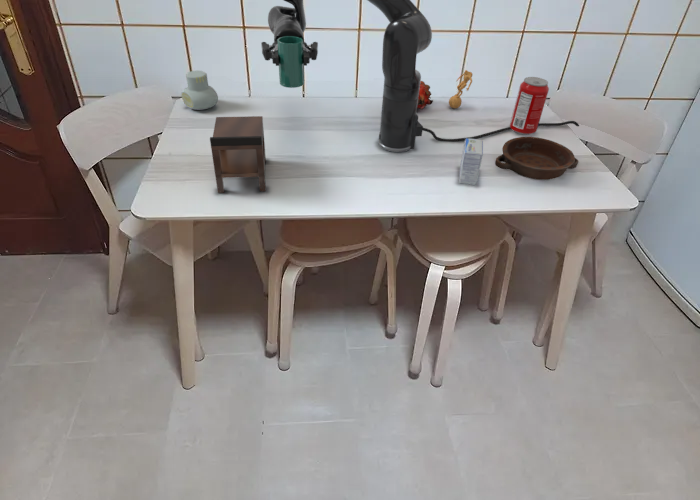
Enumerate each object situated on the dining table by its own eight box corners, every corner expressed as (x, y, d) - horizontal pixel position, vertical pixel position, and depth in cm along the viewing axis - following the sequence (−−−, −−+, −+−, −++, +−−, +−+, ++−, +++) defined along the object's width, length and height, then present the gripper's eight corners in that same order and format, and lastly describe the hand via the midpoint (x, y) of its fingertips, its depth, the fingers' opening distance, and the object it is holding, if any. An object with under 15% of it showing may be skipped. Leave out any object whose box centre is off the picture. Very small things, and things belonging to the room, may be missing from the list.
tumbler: (303, 78, 123) (302, 36, 116) (304, 87, 118) (303, 43, 112) (279, 78, 122) (277, 36, 116) (279, 88, 118) (277, 44, 111)
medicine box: (476, 185, 123) (483, 154, 118) (458, 183, 124) (464, 151, 118) (476, 170, 129) (483, 139, 124) (459, 167, 130) (465, 137, 125)
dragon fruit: (415, 103, 166) (419, 123, 157) (396, 88, 161) (400, 109, 153) (433, 84, 161) (439, 104, 153) (414, 69, 157) (419, 89, 149)
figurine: (443, 103, 163) (449, 65, 155) (460, 102, 164) (467, 65, 156) (453, 113, 156) (460, 75, 149) (471, 112, 158) (478, 74, 150)
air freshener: (180, 103, 154) (174, 71, 148) (204, 97, 158) (199, 65, 152) (197, 115, 148) (192, 82, 142) (222, 108, 152) (218, 76, 146)
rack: (265, 160, 129) (261, 109, 120) (265, 191, 118) (261, 137, 109) (222, 161, 128) (215, 109, 119) (217, 193, 116) (209, 138, 108)
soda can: (508, 134, 147) (522, 83, 137) (508, 123, 153) (521, 74, 143) (536, 138, 145) (551, 87, 136) (535, 126, 151) (549, 77, 142)
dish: (482, 153, 137) (486, 136, 134) (558, 151, 139) (564, 135, 136) (505, 187, 123) (510, 169, 120) (589, 184, 126) (596, 167, 123)
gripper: (259, 23, 124) (258, 44, 111) (317, 23, 126) (322, 44, 113) (261, 54, 129) (260, 78, 116) (317, 53, 131) (322, 77, 118)
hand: (291, 61), depth 115 cm, fingers closed on tumbler, 6 cm apart
